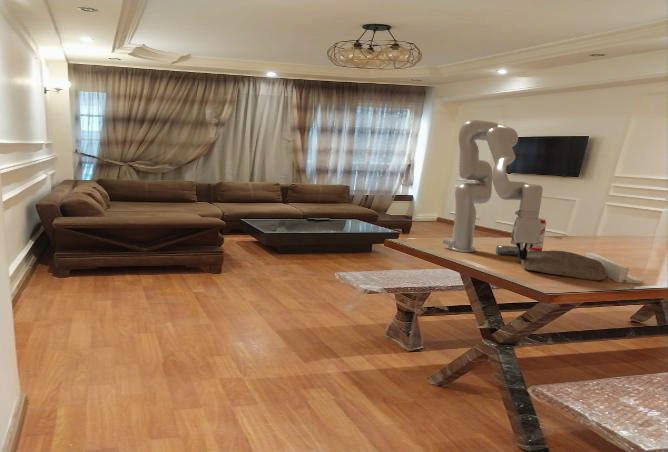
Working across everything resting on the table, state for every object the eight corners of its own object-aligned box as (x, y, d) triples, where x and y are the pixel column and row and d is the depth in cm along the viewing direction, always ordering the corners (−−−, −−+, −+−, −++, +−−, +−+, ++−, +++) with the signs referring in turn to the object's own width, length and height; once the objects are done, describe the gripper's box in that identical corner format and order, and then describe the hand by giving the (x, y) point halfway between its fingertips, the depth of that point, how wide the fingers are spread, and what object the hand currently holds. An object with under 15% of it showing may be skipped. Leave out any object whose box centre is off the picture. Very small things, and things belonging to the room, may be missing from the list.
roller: (495, 245, 211) (495, 255, 210) (499, 244, 206) (499, 254, 206) (516, 247, 211) (516, 256, 210) (520, 246, 206) (521, 255, 206)
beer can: (544, 252, 219) (549, 220, 216) (531, 251, 219) (536, 219, 216) (538, 249, 225) (543, 218, 223) (526, 248, 225) (530, 217, 223)
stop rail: (618, 282, 173) (621, 267, 172) (584, 265, 197) (586, 252, 196) (642, 283, 173) (645, 268, 172) (605, 267, 197) (607, 253, 196)
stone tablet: (522, 272, 180) (607, 283, 171) (525, 252, 179) (610, 262, 170) (518, 262, 199) (594, 271, 190) (521, 243, 198) (597, 252, 189)
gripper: (513, 215, 177) (506, 260, 180) (551, 217, 176) (544, 262, 180) (506, 212, 184) (500, 255, 187) (543, 214, 184) (536, 258, 187)
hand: (521, 259), depth 184 cm, fingers closed
